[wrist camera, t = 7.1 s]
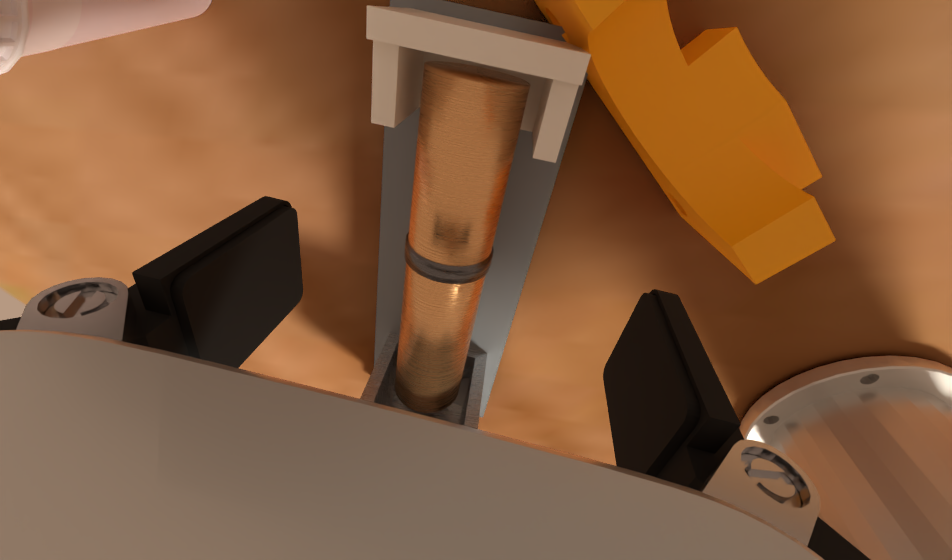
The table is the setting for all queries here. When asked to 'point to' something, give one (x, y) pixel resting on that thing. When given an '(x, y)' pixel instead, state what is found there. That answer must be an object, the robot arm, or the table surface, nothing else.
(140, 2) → the smoothie
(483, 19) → the board
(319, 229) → the table surface
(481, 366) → the sleeve
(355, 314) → the table surface
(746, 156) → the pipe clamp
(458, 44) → the light grey u-shaped block
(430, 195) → the tube
